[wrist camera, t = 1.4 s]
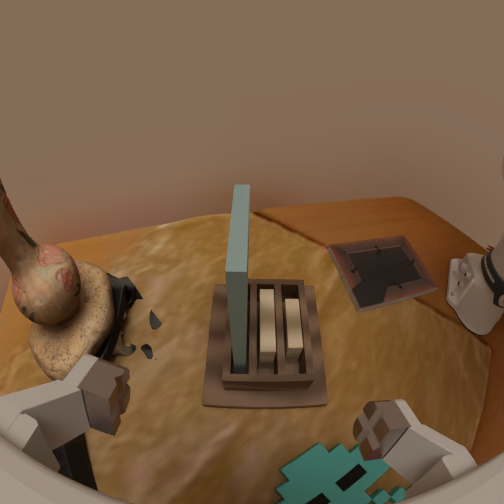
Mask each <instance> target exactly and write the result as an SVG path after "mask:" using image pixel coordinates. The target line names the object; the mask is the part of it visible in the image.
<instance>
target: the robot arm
mask: <svg viewBox="0 0 504 504" xmlns="http://www.w3.org/2000/svg"><path fill="white" fill-rule="evenodd" d="M502 163H503V164H502V173H503V179H504V157H503V162H502ZM489 247H490V248H486V249H487V250H489V252H488V253H487V254H485V255H481V254H476V253H468V254H466V255H465V256H464V257H463V259H452V260H451V261H450V265H449V277H448V286H447V295H446V300H447V302H448V303H449V305H450V306H451V307H452V308H453V309H454V310H455V311H456V313H457V315H458V317H459V318H460V320H461V321H462V323H463V324H464V325H465V326H466V327H467V328H468V329H469V330H471V331H472V332H474V333H476V334H479V335H485V334H488V333H489V332H490V331H491V330H492V328H493V327H494V325H495V324H496V322H498V321H499V319H500V318H501V315H502V314H503V313H504V232H503V235H502V236H501V238H500V240H499V242H498V243H497V245H496V246H495V248H493V247H491V246H489ZM129 378H130V377H129V369H128V368H125V367H123V366H120V365H117V364H114V363H111V362H109V361H106V360H103V359H101V358H97V357H95V356H92V355H90V354H88V353H87V354H84V355H83V356H82V357H81V359H80V360H79V361H78V362H77V363H76V365H75V366H74V367H73V368H72V370H71V371H70V372H69V373H68V375H67V376H66V377H65V378H64V380H63V381H61V380H55V381H52V382H49V383H46V384H42V385H39V386H36V387H32V388H29V389H25V390H22V391H18V392H14V393H11V394H7V395H3V396H1V397H0V504H133V503H129V502H126V501H123V500H120V499H117V498H114V497H112V496H109V495H106V494H104V493H101V492H99V491H96V490H94V489H91V488H89V487H87V486H84V485H82V484H80V483H78V482H76V481H74V480H71V479H69V478H67V477H65V476H63V475H61V474H60V473H58V471H59V469H60V465H59V463H58V461H57V459H56V457H55V456H54V454H53V452H52V450H54V449H56V448H58V447H59V446H61V445H63V444H65V443H67V442H68V441H70V440H72V439H74V438H75V437H77V436H79V435H81V434H82V433H84V432H86V431H88V430H89V429H90V427H91V428H93V429H96V430H99V431H101V432H104V433H107V434H110V435H113V436H115V434H116V432H117V430H118V427H119V425H120V423H121V419H120V415H121V414H123V413H125V411H126V409H127V407H128V403H129V399H130V387H129V385H128V384H127V382H128V380H129ZM363 411H364V413H363V414H361V415H360V416H359V417H357V419H356V421H355V422H354V426H353V435H354V438H355V440H356V441H358V442H359V443H360V447H359V450H360V452H361V455H362V457H363V460H364V461H369V460H376V459H382V460H383V461H385V462H386V463H387V464H388V465H389V466H390V467H391V468H393V469H394V470H395V471H396V472H397V473H398V474H400V475H401V476H402V477H403V478H404V479H405V480H407V481H408V482H409V483H410V484H411V485H413V486H412V487H411V488H409V489H408V490H407V491H406V492H405V494H404V496H405V498H406V500H403V501H400V502H397V503H394V504H504V451H502V452H501V453H499V454H498V455H496V456H495V457H493V458H492V459H490V460H488V461H487V462H485V463H483V464H482V465H480V466H478V465H477V464H476V462H475V461H474V459H473V458H472V456H471V455H470V453H469V452H468V451H467V449H466V448H465V447H464V446H462V445H460V444H458V443H456V442H455V441H453V440H451V439H449V438H447V437H445V436H444V435H442V434H440V433H438V432H436V431H435V430H433V429H431V428H429V427H428V426H426V425H421V423H420V422H419V420H418V419H417V418H416V416H415V415H414V413H413V412H412V410H411V409H410V407H409V406H408V404H407V403H406V402H405V401H404V400H403V399H395V400H384V401H369V402H368V403H367V404H366V405H365V407H364V408H363Z"/></svg>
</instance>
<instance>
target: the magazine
mask: <svg viewBox="0 0 504 504" xmlns="http://www.w3.org/2000/svg"><path fill="white" fill-rule="evenodd" d="M52 452H53V454H54V456H55V457H56V459H57V461H58V463H59V465H60V469H59V471H58V473H60V474H61V475H63V476H65V477H67V478H69V479H71V480H74V481H76V482H78V483H80V484H82V485H84V486H87V487H89V488H91V489H94V490H96V491H97V487H96V484H95V481H94V477H93V474H92V471H91V467H90V464H89V460H88V456H87V453H86V449H85V445H84V441H83V436H82V434H81V435H79V436H77V437H75V438H74V439H72V440H70V441H68V442H67V443H65V444H63V445H61V446H59V447H58V448H56V449H54V450H52Z"/></svg>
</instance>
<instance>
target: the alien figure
mask: <svg viewBox="0 0 504 504" xmlns="http://www.w3.org/2000/svg"><path fill="white" fill-rule="evenodd" d="M359 447H360V444H358V445H356V446H355V447H354V448H353V449H351V450H350V451H349V452H348V451H347V450H346V448H345V447H344V446H343V445H342V444H337V445H336V446H335V447H333V448H332V449H331V450H330V451H327V450H326V449H325V448H324V447H323V445H322V444H321V443H317V444H315V445H314V446H313V447H311V448H310V449H308V450H307V451H306V452H304V453H303V454H301V455H300V456H298V457H297V458H295V459H294V460H292V461H291V462H289V463H288V464H286V465H285V466H283V467H282V468H280V469H279V470H280V471H281V472H282V473H283V474H284V476H285V477H286V478H287V479H288V480H287V481H285V482H284V483H282V484H280V485H279V486H277V487H275V489H276V490H277V491H278V492H279V493H280V495H281V496H282V497H283V499H282V500H280V501H278V502H277V503H275V504H368V503H369V502H371V503H372V504H384V503H385V502H386V501H388V500H390V501H391V502H392V503H393V504H394V503H397V502H400V501H402V500H403V499H404V498H405V496H404V494H405V492H406V491H407V490H408V489H409V488H411V487H412V486H413V485H411V486H410V487H409V488H408V489H407V490H406V491H405V490H404V489H403V488H402V487H395V488H394V489H393V490H392V491H391V492H390V493H389V494H388V493H387V492H386V491H385V490H384V489H378V490H377V491H375V492H374V493H373V494H372V495H371V496H370V497H369V496H368V495H367V493H366V492H365V490H366V489H367V488H368V487H370V486H371V485H372V484H373V483H374V482H375V481H376V480H377V479H378V478H379V477H380V476H382V475H383V474H384V473H385V472H386V471H387V470H388V469H389V468H390V466H389V465H388V464H387V463H386V462H385V461H383V460H382V459H376V460H369V461H364V460H363V457H362V455H361V452H360V450H359Z"/></svg>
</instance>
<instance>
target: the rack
mask: <svg viewBox="0 0 504 504" xmlns="http://www.w3.org/2000/svg"><path fill="white" fill-rule="evenodd" d="M260 289H274V311H275V336H276V354H275V358H274V362H273V365H272V369H271V370H259V369H258V308H259V296H260ZM285 299H299V309H300V319H301V329H302V340H303V349H302V351H301V353H300V356H299V358H298V360H297V362H296V363H285V349H284V330H283V313H282V312H283V307H284V302H285ZM327 404H328V400H327V389H326V379H325V370H324V361H323V352H322V344H321V336H320V328H319V321H318V314H317V307H316V300H315V294H314V287H313V286H304V280H284V279H248V302H247V344H246V374H235V371H234V362H233V352H232V342H231V331H230V321H229V310H228V298H227V286H226V285H222V284H215V288H214V296H213V305H212V313H211V323H210V332H209V342H208V352H207V362H206V373H205V384H204V396H203V405H204V406H205V407H219V408H240V409H283V408H305V407H318V406H326V405H327Z"/></svg>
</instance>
